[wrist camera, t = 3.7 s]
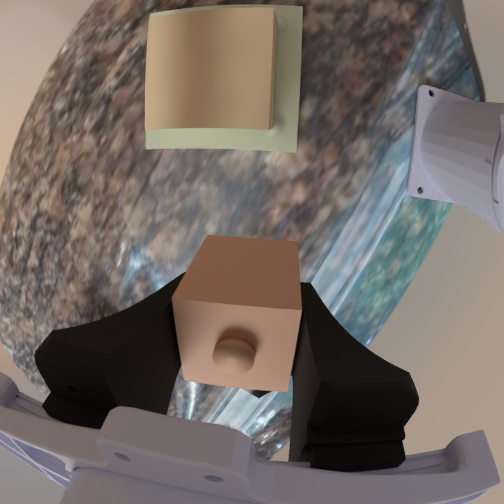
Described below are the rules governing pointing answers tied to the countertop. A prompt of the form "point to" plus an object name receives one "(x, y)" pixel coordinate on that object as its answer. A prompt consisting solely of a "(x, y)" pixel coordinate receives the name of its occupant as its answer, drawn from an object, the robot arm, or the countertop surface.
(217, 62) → the maple block
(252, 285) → the top brick
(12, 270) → the countertop surface
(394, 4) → the countertop surface
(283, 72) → the plate
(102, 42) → the countertop surface
